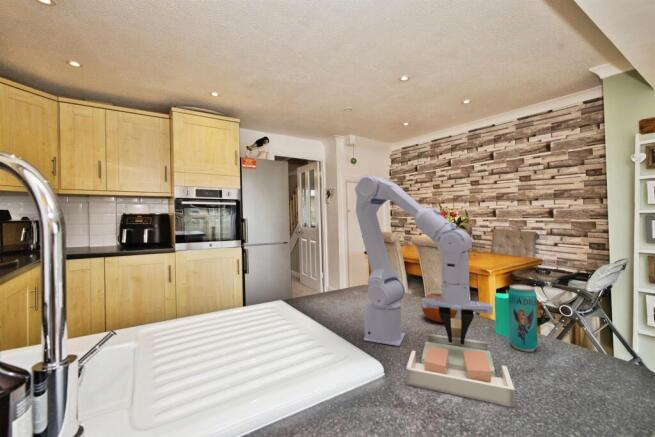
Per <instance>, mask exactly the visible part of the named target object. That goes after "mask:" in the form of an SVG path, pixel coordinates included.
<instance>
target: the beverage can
mask: <svg viewBox="0 0 655 437" xmlns="http://www.w3.org/2000/svg"><path fill="white" fill-rule="evenodd" d="M535 290H536V288H535V287H533V286H530V285H525V284H511V285H509V290H508V291H507V294H509V337H508V338H509V341H510V343H511V347H512V348H514V349H515V350H517V351H521V352H526V353H532V352H534V351H535V350H536V348H537V346H538V311H537V310H538V305H537V300H538V299H537V298H538V297H537V292H536V291H535Z"/></svg>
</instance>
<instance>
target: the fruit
mask: <svg viewBox="0 0 655 437" xmlns="http://www.w3.org/2000/svg"><path fill="white" fill-rule="evenodd" d="M424 298H442V293H435V292H434V293H430V294H428V295H426V296H424ZM421 311H422V313H423V314H424V315H425V317H427V318H428V319H429V320H431V321H434V322H436V323H443V321H442V319H441V317H440V315H439V308H430V307H427V308H422V307H421ZM457 313H458V310H451V318H453V319H455V318H456V315H457Z"/></svg>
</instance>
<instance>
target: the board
mask: <svg viewBox="0 0 655 437" xmlns="http://www.w3.org/2000/svg"><path fill="white" fill-rule="evenodd" d="M424 343H425V344H424V348H423V351H422V354H421V355H422V356H421V364H424V361H425V357H426V354H427V350H428V347H429V345H430V346H434V347H439V348H443V349H447V350H449V361H448V366H447V368H449V369H454V370H460V371H465V372H466V370H465V366H464V362H463V351H473V352H484V353H485V355H486V358H487V361H488V364H489V367H490V370H491V376H493V377H496V371H495V370H496V369H495V366H494V362H493V358H492V354H491V350H490V351H489V350H487V351H486V350H479V349H472V348H466V347H459V346H453V345H446V344H439V343H433V342H428V341H425V342H424Z"/></svg>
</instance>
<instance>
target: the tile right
mask: <svg viewBox="0 0 655 437" xmlns="http://www.w3.org/2000/svg"><path fill="white" fill-rule="evenodd" d="M463 362H464V366H465V370H466V374H467V378H468V379H472V380H477V381H484V382H491V370H490V367H489V364H488V361H487V358H486V355H485V353H484V352H473V351H463Z"/></svg>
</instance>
